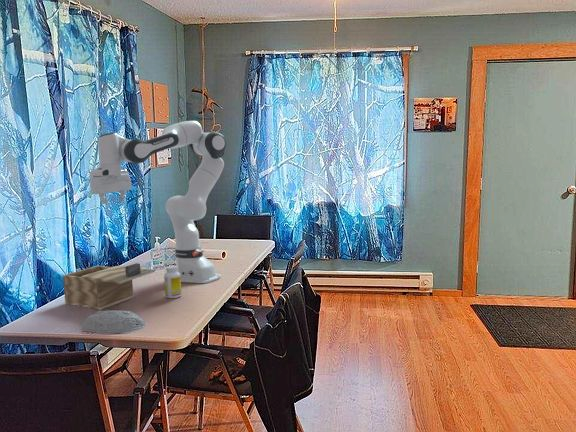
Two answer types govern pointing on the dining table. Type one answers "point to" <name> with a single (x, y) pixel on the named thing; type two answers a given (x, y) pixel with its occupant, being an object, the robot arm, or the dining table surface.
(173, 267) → the supplement bottle
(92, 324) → the grey oval stone
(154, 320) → the dining table surface
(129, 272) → the lid
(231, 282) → the dining table surface
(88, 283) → the wooden box
